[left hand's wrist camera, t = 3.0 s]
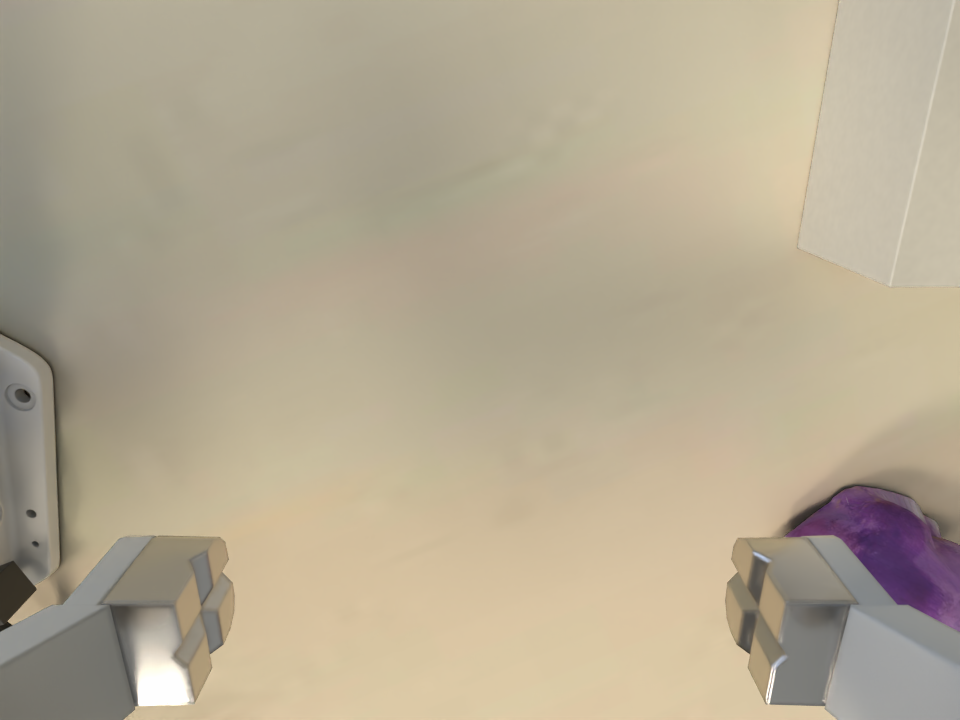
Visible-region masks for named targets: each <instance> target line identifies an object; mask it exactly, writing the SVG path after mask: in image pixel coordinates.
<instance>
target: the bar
mask: <svg viewBox="0 0 960 720" xmlns="http://www.w3.org/2000/svg"><path fill="white" fill-rule="evenodd" d="M797 248H798V249H801V250H803V251H805V252H808V253H810V254H812V255H815V256H817V257H819V258H822V259H824V260H826V261H829V262H831V263H833V264H836V265H838V266H840V267H843V268H845V269H848V270H850V271H852V272H855V273H857V274H859V275H862V276H864V277H866V278H869V279H871V280H873V281H876V282H878V283H880V284H883V285H885V286H887V287H960V0H839V5H838V11H837V17H836V23H835V28H834V34H833V40H832V46H831V52H830V58H829V64H828V69H827V75H826V81H825V87H824V93H823V99H822V105H821V110H820V116H819V122H818V128H817V134H816V140H815V145H814V151H813V157H812V163H811V169H810V175H809V181H808V186H807V192H806V198H805V204H804V210H803V216H802V222H801V227H800V233H799V239H798V245H797Z"/></svg>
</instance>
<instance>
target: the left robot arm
mask: <svg viewBox="0 0 960 720" xmlns="http://www.w3.org/2000/svg"><path fill="white" fill-rule="evenodd" d="M23 389H24V390H26V391H27V392H29V394H30V396H31V397H28V396H27V395H26V394H25V393H24V391H23ZM228 560H229V558H228V553H227V548H226V543H225V541H224V540H222V539H221V538H220V537H196V536H125V537H123V538H120V539H119V540H118V541H117V542H116V543H115V544H114V545H113V546H112V547H111V549H110V550H109V551H108V552H107V553H106V554H105V556H104V557H103V558H102V559H101V560H100V561H99V563H98V564H97V565H96V566H95V567H94V568H93V570H92V571H91V572H90V573H89V574H88V575H87V577H86V578H85V579H84V580H83V581H82V582H81V584H80V585H79V586H78V587H77V588H76V589H75V591H74V592H73V593H72V594H71V595H70V596H69V598H68V599H67V600H66V601H65V602H64V603H63V605H51V606H49V607H47V608H45V609H43V610H41V611H39V612H37V613H36V614H34V615H32V616H30V617H28V618H26V619H24V620H22V621H20V622H18V623H16V624H15V625H11V624H10V623H8V622H7V621H8V620H9V619H10V618H11V617H12V615H13V614H14V613H15V612H16V611H17V610H18V609H19V608H20V607H21V606H22V605H23V604H24V603H25V602H26V600H27V599H28V598H29V597H30V596H31V595H32V594H33V593H34V592H35V591H36V590H37V589H36V587H35V586H34V585H36V584H38V583H40V582H41V581H43V580H45V579H46V578H48V577H49V576H50V575H51V574H52V573H53V572H55V571H56V570H57V569H58V567H59V562H60V545H59V519H58V494H57V468H56V443H55V417H54V392H53V375H52V371H51V369H50V367H49V365H48V364H47V362H46V361H45V360H44V359H43V358H41V357H40V356H39V355H37V354H36V353H34V352H33V351H31V350H30V349H28V348H26V347H24V346H23V345H21V344H19V343H17V342H15V341H13V340H11V339H9V338H7V337H5V336H3V335H1V334H0V720H123V719H125V718H126V717H127V716H128V715H129V714H130V713H131V712H133V711H134V710H135V706H153V705H187V704H195V702H196V700H197V698H198V696H199V694H200V692H201V689H202V687H203V685H204V683H205V681H206V679H207V677H208V675H209V673H210V671H211V669H212V664H211V658H210V654H211V653H212V652H214V651H215V650H217V649H218V648H219V647H221V646H222V645H223V644H224V642H225V640H226V638H227V635H228V633H229V631H230V628H231V624H232V619H233V614H234V597H235V595H234V589H233V582H232V581H231V580H230V579H229V578H228V577H227V576H226V575H225V574H224V573H223V572H222V571H223V569H224V567H225V565H226V563H227V562H228ZM731 560H732V562H733V563H734V565H735V567H736V569H737V571H738V572H737V573H736V574H735V575H734V576H733V577H732V578H731V579H730V580H729V581H728V582H727V590H726V598H725V603H726V615H727V621H728V624H729V628H730V631H731V633H732V636H733V638H734V640H735V642H736V644H737V645H738V646H739V647H741V648H742V649H744V650H745V651H746V652H748V653H749V654H750V658H749V664H748V669H749V671H750V673H751V675H752V677H753V679H754V681H755V683H756V685H757V687H758V689H759V691H760V693H761V695H762V698H763V700H764V702H765V704H771V705H806V706H825V710H827V711H828V712H829V713H830V714H831V715H832V716H834V717H835V718H836V719H837V720H960V632H959V631H957V630H955V629H953V628H951V627H949V626H947V625H945V624H943V623H942V622H940V621H938V620H936V619H934V618H932V617H930V616H928V615H926V614H924V613H922V612H921V611H919V610H917V609H915V608H913V607H911V606H909V605H897V603H896V602H895V601H894V600H893V599H892V598H891V596H890V595H889V594H888V593H887V592H886V591H885V590H884V588H883V587H882V586H881V585H880V584H879V583H878V581H877V580H876V579H875V578H874V577H873V576H872V574H871V573H870V572H869V571H868V570H867V569H866V567H865V566H864V565H863V564H862V563H861V562H860V560H859V559H858V558H857V557H856V556H855V555H854V553H853V552H852V551H851V550H850V549H849V548H848V546H847V545H846V544H845V543H844V542H843V541H842V539H840V538H838V537H836V536H834V535H823V536H801V537H759V538H737V540H736V542H735V544H734V547H733V552H732V558H731Z"/></svg>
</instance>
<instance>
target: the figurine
mask: <svg viewBox="0 0 960 720" xmlns="http://www.w3.org/2000/svg"><path fill="white" fill-rule="evenodd" d="M823 535H834V536H836V537H838V538H840V539H842V541H843V542H844V543H845V544H846V545H847V546H848V548H849V549H850V550H851V551H852V552H853V553H854V555H855V556H856V557H857V558H858V559H859V560H860V562H861V563H862V564H863V565H864V566H865V567H866V569H867V570H868V571H869V572H870V573H871V574H872V576H873V577H874V578H875V579H876V580H877V581H878V583H879V584H880V585H881V586H882V587H883V588H884V590H885V591H886V592H887V593H888V594H889V595H890V596H891V598H892V599H893V600H894V601H895V602H896V603H897V605H909V606H911V607H913V608H915V609H917V610H919V611H921V612H922V613H924V614H926V615H928V616H930V617H932V618H934V619H936V620H938V621H940V622H942V623H943V624H945V625H947V626H949V627H951V628H953V629H955V630H957V631H959V632H960V545H958V544H956V543H954V542H951V541H948V540H945V539H942V538H941V534H940V530H939V526H938V524H937V523H936V522H935V521H934V520H933V519H931V518H929V517H927V516H925V515H923V513H922V511H921V509H920V507H919V505H918V504H917V503H916V502H915V501H914V500H912V499H911V498H909V497H906V496H904V495H901V494H896V493H894V492H889V491H885V490H882V489H878V488H870V487H864V486H855V487H852V488H848V489H844V490H843V491H841V492H840V493H838V494H837V495H836V496H834V497H833V498H832V500H831V501H830V502H829V503H828V504H826V505H825V506H823V507H822V508H821V509H819V510H818V511H816V512H815V513H814V514H812V515H811V516H810V517H808V518H807V519H806V520H805V521H803V522H802V523H801V524H800V525H798V526H797V527H796V528H795V529H794V530H792V531H791V532H789V533H788V534H786V535H785V537H801V536H823Z"/></svg>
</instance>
